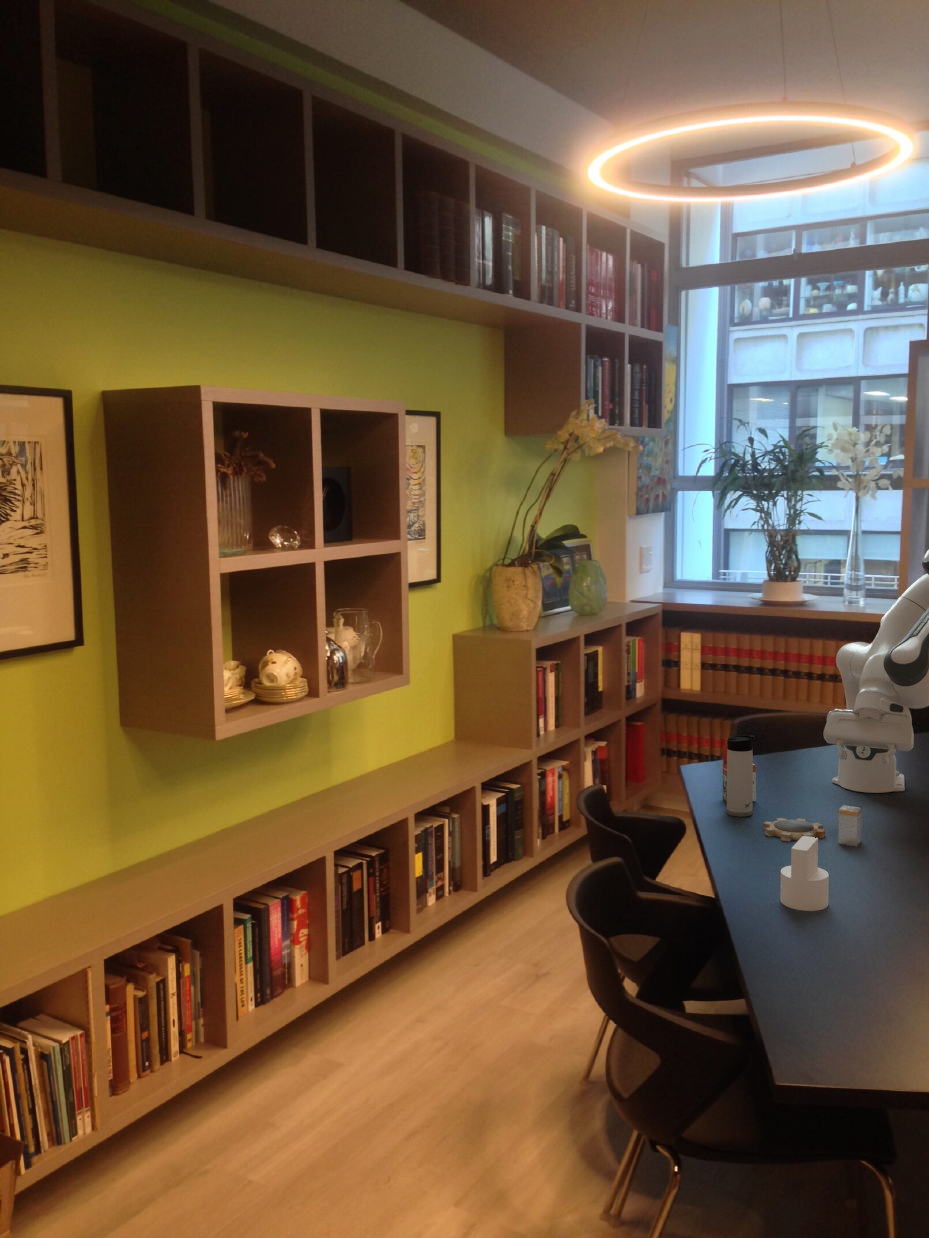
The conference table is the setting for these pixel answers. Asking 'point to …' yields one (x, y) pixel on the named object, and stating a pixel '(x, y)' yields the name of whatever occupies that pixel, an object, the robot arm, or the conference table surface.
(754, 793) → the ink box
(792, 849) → the base with upright slab
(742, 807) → the travel mug
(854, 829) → the link block
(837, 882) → the conference table surface
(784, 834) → the toothed wheel
